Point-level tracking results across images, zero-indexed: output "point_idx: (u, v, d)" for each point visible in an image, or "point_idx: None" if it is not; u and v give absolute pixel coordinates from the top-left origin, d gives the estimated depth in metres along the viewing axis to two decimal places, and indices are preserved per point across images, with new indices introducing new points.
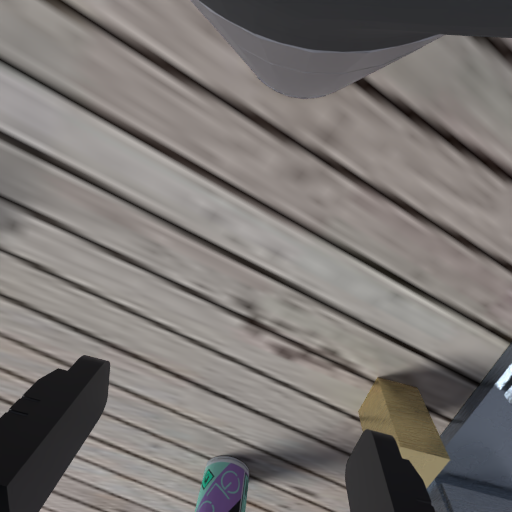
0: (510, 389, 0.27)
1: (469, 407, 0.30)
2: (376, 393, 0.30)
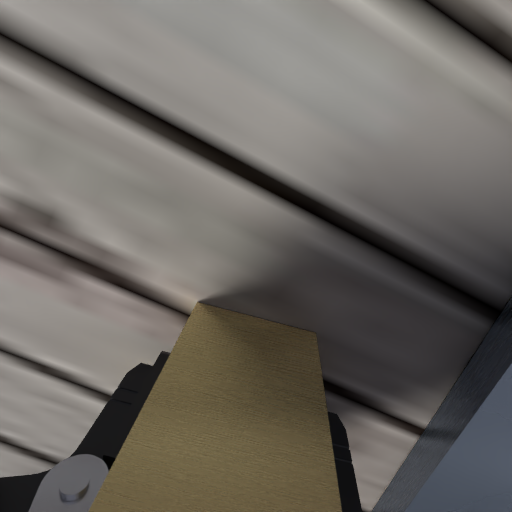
0: None
1: (471, 389, 0.10)
2: None
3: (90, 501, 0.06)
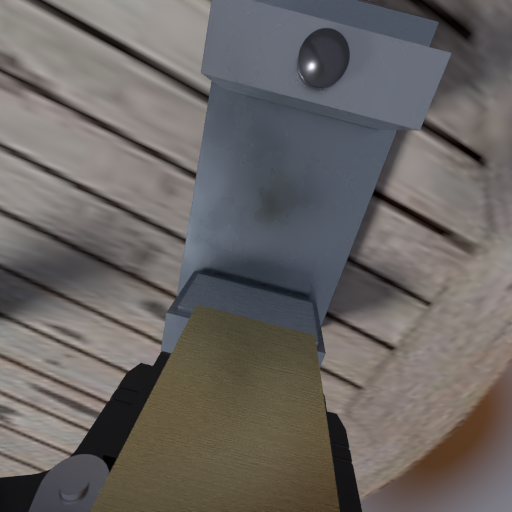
0: None
1: None
2: None
3: (90, 501, 0.06)
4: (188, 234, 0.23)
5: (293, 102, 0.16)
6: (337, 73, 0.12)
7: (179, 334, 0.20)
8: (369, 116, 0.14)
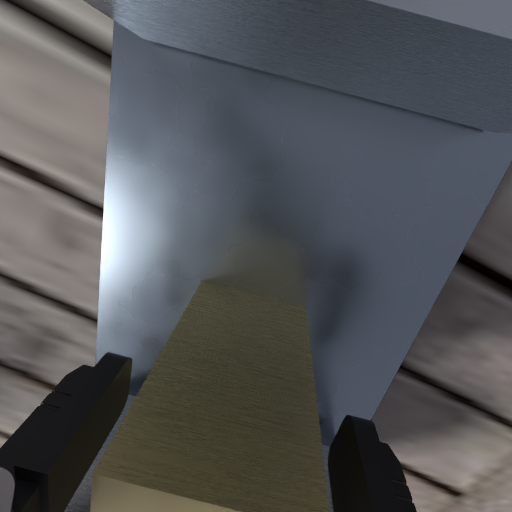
0: None
1: None
2: None
3: None
4: (100, 323, 0.13)
5: (299, 49, 0.05)
6: None
7: None
8: None
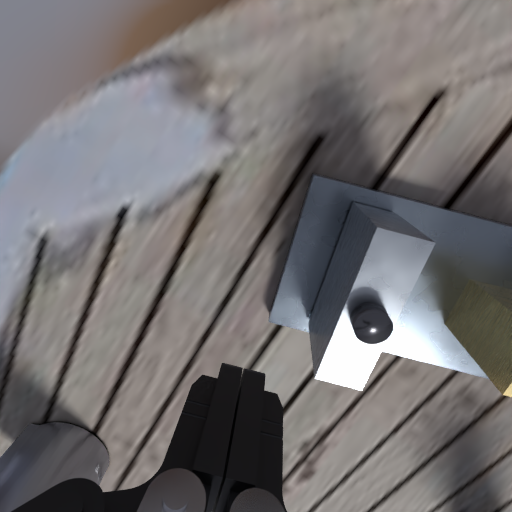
0: None
1: None
2: None
3: None
4: (459, 369, 0.25)
5: None
6: (385, 319, 0.16)
7: None
8: (414, 282, 0.16)
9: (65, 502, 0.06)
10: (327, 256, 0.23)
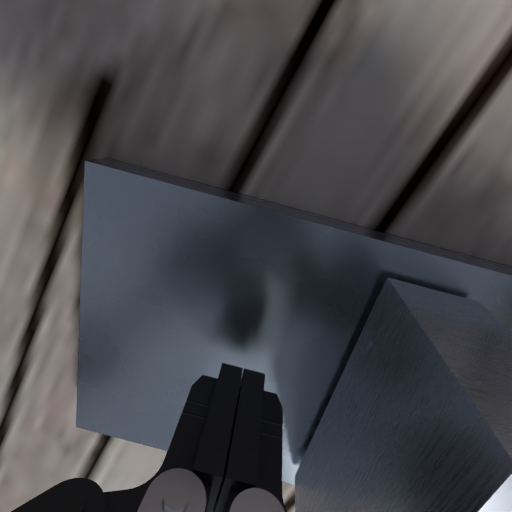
0: None
1: None
2: None
3: None
4: None
5: None
6: None
7: None
8: None
9: (65, 502, 0.06)
10: (150, 322, 0.12)
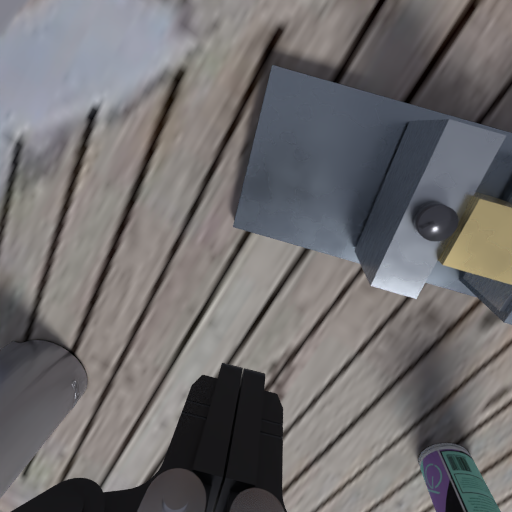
0: None
1: None
2: None
3: None
4: None
5: None
6: (451, 214, 0.17)
7: None
8: (481, 179, 0.17)
9: (65, 502, 0.06)
10: (287, 154, 0.23)
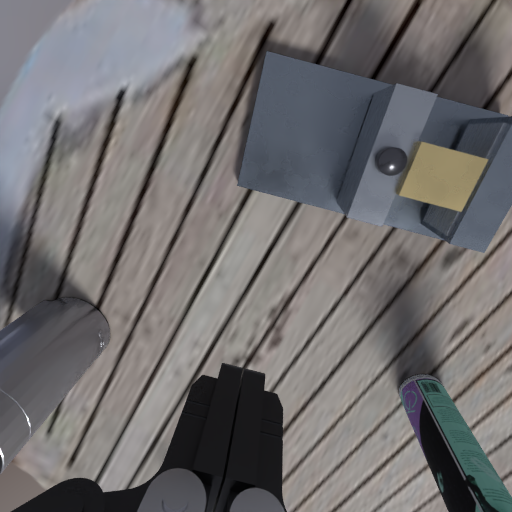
0: None
1: None
2: None
3: None
4: (389, 224, 0.32)
5: None
6: (401, 153, 0.23)
7: (471, 236, 0.26)
8: (422, 128, 0.23)
9: (65, 502, 0.06)
10: (280, 123, 0.29)
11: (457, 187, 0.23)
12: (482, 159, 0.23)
